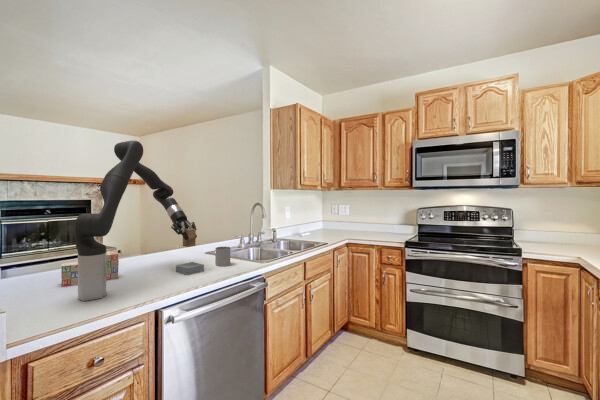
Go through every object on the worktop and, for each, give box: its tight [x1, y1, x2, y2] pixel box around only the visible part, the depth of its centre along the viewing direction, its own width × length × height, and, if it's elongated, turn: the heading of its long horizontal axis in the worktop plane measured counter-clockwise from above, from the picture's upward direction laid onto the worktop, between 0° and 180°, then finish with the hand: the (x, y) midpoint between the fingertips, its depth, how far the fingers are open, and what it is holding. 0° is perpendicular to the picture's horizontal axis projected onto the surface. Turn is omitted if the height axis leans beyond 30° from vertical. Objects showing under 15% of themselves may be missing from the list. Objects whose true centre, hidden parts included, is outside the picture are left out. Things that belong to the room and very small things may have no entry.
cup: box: [214, 246, 231, 268], centre depth 169 cm, size 8×8×10 cm
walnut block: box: [182, 228, 197, 248], centre depth 154 cm, size 4×4×9 cm
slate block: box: [175, 261, 205, 276], centre depth 154 cm, size 10×10×4 cm
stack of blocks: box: [60, 251, 120, 287], centre depth 136 cm, size 21×6×12 cm, turn 130°
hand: (191, 238), depth 153 cm, fingers closed on walnut block, 4 cm apart
